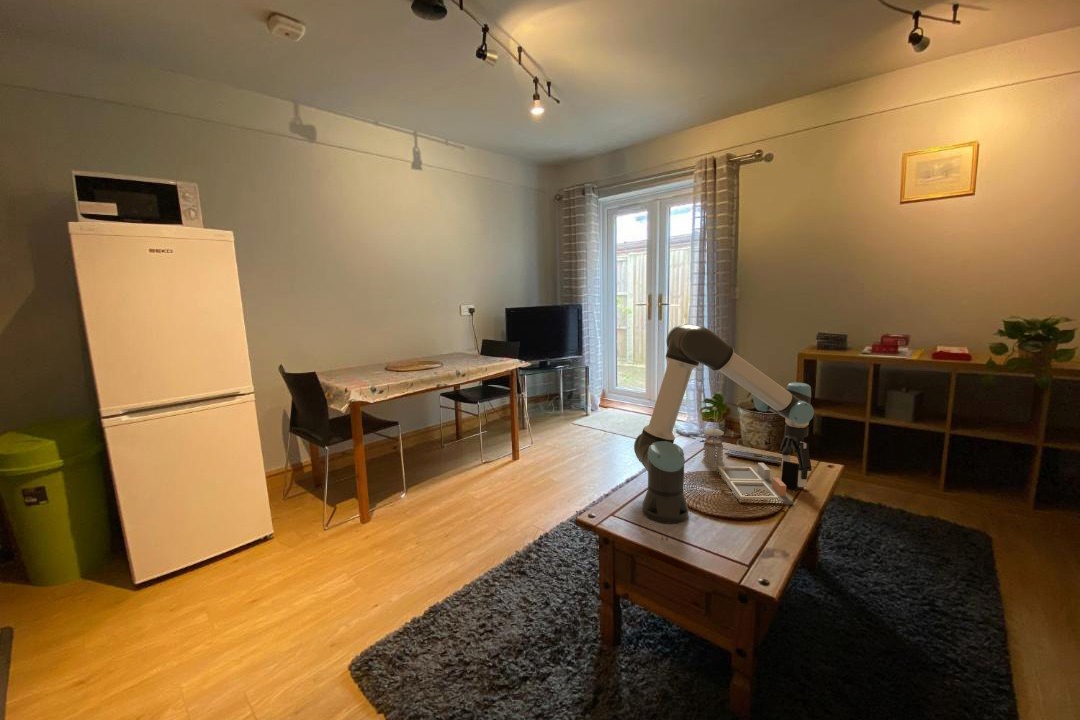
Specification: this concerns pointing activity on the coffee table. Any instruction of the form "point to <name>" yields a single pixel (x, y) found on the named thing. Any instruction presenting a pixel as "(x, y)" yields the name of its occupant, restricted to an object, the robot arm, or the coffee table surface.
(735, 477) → the dock board
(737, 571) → the coffee table surface
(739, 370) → the robot arm
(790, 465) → the speaker
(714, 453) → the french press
